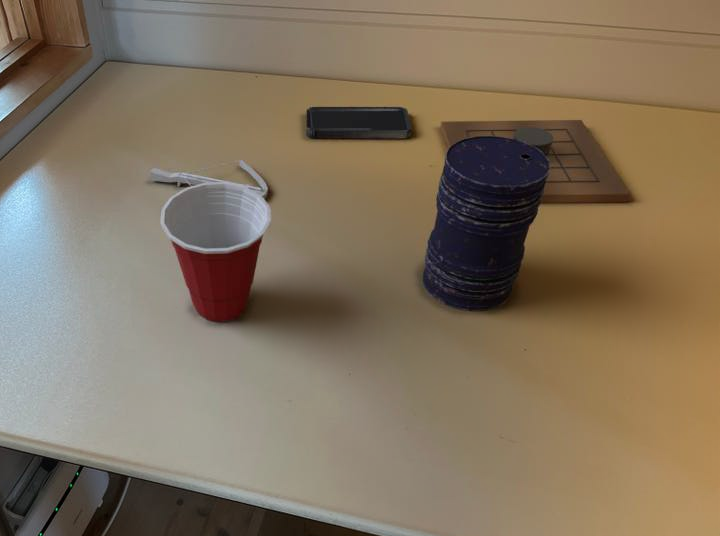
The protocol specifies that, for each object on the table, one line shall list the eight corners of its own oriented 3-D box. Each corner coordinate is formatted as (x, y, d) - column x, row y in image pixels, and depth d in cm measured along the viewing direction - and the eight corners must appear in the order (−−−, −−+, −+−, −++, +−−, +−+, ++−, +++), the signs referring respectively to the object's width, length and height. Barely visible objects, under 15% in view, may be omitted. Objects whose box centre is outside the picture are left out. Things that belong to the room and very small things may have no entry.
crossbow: (278, 177, 97) (279, 164, 96) (252, 228, 88) (252, 214, 87) (169, 156, 100) (168, 143, 98) (133, 203, 91) (132, 189, 90)
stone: (542, 144, 97) (547, 126, 95) (552, 163, 94) (558, 144, 92) (505, 145, 97) (510, 127, 96) (514, 163, 94) (519, 145, 92)
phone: (306, 106, 108) (406, 106, 107) (306, 113, 108) (405, 113, 107) (306, 131, 102) (412, 131, 101) (306, 138, 103) (411, 138, 102)
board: (578, 127, 103) (581, 118, 102) (627, 202, 89) (631, 193, 88) (439, 129, 104) (441, 120, 103) (466, 203, 90) (468, 194, 89)
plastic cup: (180, 348, 72) (168, 252, 64) (164, 284, 80) (152, 190, 71) (283, 330, 74) (284, 233, 65) (258, 268, 81) (256, 175, 73)
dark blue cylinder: (439, 317, 75) (467, 192, 64) (408, 261, 81) (429, 141, 71) (529, 304, 76) (571, 180, 65) (491, 251, 82) (523, 130, 72)
